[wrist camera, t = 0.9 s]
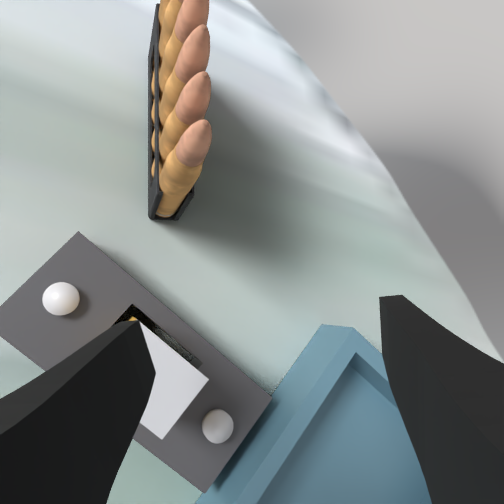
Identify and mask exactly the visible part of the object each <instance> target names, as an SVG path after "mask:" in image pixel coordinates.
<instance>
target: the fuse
mask: <svg viewBox="0 0 504 504" xmlns="http://www.w3.org/2000/svg"><path fill="white" fill-rule="evenodd" d="M133 320H137V319H136V318H134V317H133V316H130V317H129V318H128V319H127V320H126V321H133ZM140 325H141V328H142V331H143V334H144V337H145V340H146V343H147V346H148V349H149V352H150V355H151V359H152V362H153V365H154V368H155V371H156V376H155V379H154V383H153V387H152V391H151V394H150V397H149V401H148V404H147V406H146V409H145V411H144V413H143V416H142V418H141V420H140V423H141V424H142V425H144V426H145V427H146V428H147V429H149V430H150V431H151V432H153V433H154V434H155V435H156V436H158V437H159V438H160V439H163V438H164V437H165V435H166V434H167V433H168V431H169V430H170V429H171V428H172V426H173V425H174V424H175V422H176V421H177V420H178V419H179V417H180V416H181V415H182V413H183V412H184V411H185V410H186V408H187V407H188V406H189V404H190V403H191V402H192V401H193V399H194V398H195V397H196V395H197V394H198V393H199V392H200V390H201V389H202V388H203V386H204V385H205V384H206V382H207V381H208V380H209V379H208V378H207V377H205V376H204V375H203V374H202V373H201V372H199V371H198V370H197V369H196V368H195V367H193V366H192V365H191V364H190V363H189V362H187V361H186V360H185V359H184V358H183V357H181V356H180V355H179V354H178V353H177V352H176V351H174V350H173V349H172V348H171V347H170V346H168V345H167V344H166V343H165V342H164V341H162V340H161V339H160V338H159V337H158V336H156V335H155V334H154V333H153V332H152V331H150V330H149V329H148V328H147V327H146V326H144V325H143V324H142V323H141V322H140Z"/></svg>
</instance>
